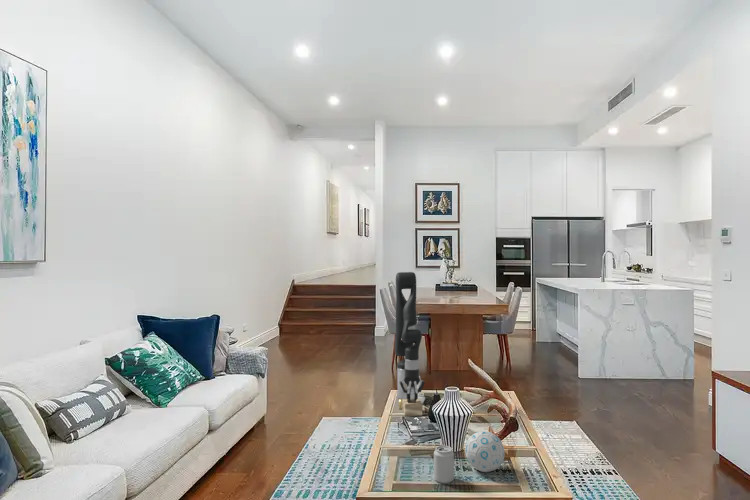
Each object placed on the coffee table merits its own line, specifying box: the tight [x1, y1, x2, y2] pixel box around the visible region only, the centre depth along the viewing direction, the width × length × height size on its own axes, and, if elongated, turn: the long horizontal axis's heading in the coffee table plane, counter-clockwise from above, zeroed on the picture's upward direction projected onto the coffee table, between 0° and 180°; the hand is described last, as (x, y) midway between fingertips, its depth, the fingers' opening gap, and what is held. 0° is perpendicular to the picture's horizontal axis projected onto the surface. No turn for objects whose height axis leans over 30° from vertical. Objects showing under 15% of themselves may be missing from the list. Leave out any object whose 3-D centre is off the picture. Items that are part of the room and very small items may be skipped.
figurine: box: [417, 375, 426, 405], centre depth 290 cm, size 7×9×15 cm
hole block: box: [401, 399, 423, 417], centre depth 273 cm, size 9×9×6 cm
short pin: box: [398, 398, 402, 411], centre depth 280 cm, size 3×3×5 cm
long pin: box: [409, 387, 415, 403], centre depth 273 cm, size 3×3×10 cm
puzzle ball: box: [464, 430, 505, 473], centre depth 205 cm, size 15×15×15 cm
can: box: [433, 445, 455, 484], centre depth 197 cm, size 8×8×12 cm
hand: (412, 400), depth 273 cm, fingers closed on long pin, 3 cm apart
